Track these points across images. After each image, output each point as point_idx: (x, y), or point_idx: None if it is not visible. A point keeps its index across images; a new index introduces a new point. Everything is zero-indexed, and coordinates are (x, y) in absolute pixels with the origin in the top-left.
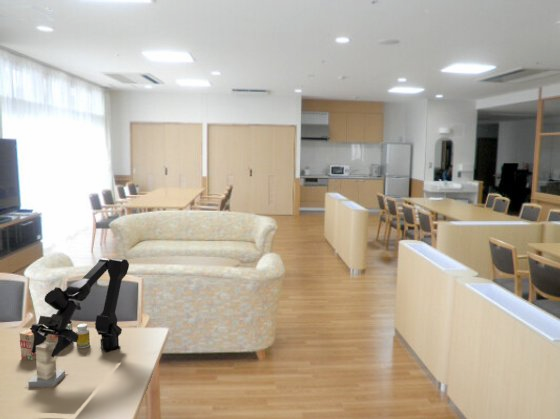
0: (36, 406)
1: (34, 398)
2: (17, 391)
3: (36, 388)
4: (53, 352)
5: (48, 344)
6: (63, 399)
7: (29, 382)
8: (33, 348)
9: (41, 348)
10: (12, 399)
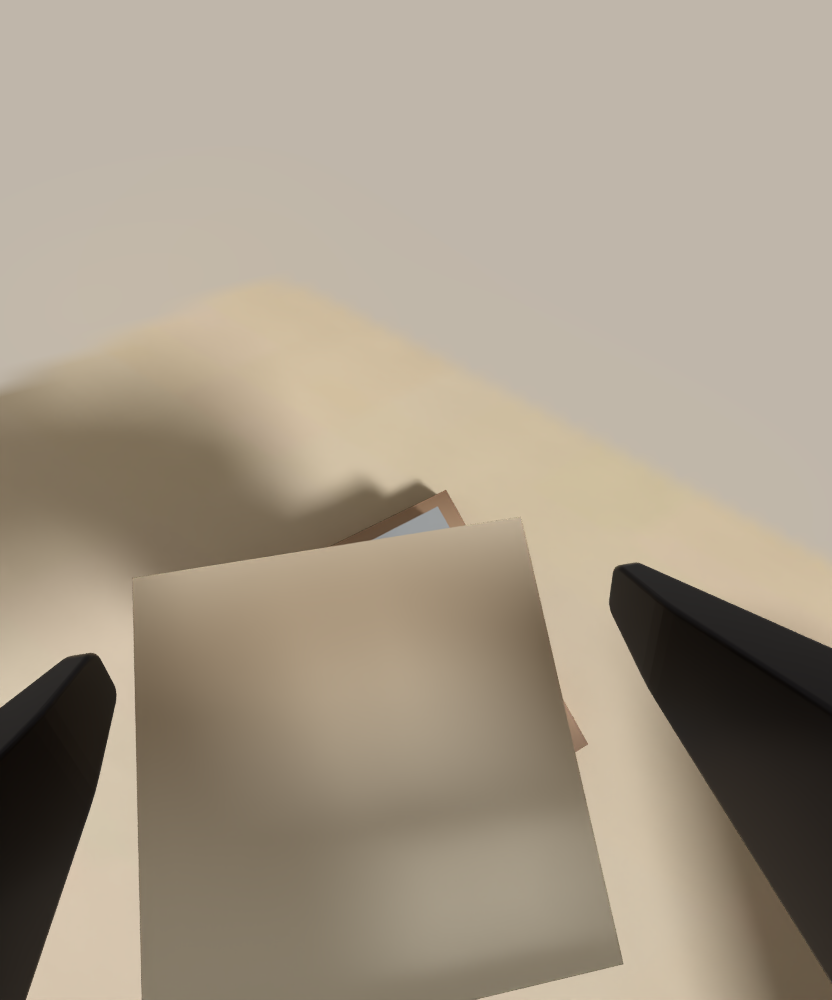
0: (158, 416)
1: (273, 474)
2: (491, 473)
3: (348, 537)
4: (3, 712)
5: (289, 835)
6: (32, 580)
7: (427, 513)
8: (672, 597)
9: (297, 556)
10: (409, 391)
